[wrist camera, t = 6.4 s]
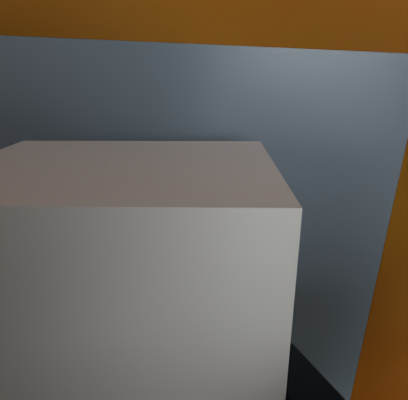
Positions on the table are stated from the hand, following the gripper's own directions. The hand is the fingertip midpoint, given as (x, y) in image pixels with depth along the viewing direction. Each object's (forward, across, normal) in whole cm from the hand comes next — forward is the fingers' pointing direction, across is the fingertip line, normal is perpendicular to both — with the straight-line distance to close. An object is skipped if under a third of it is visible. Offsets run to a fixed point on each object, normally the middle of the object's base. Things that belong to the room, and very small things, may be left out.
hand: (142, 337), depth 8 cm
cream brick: (+1, 0, 0) cm, 1 cm away
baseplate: (+4, 0, 0) cm, 4 cm away
